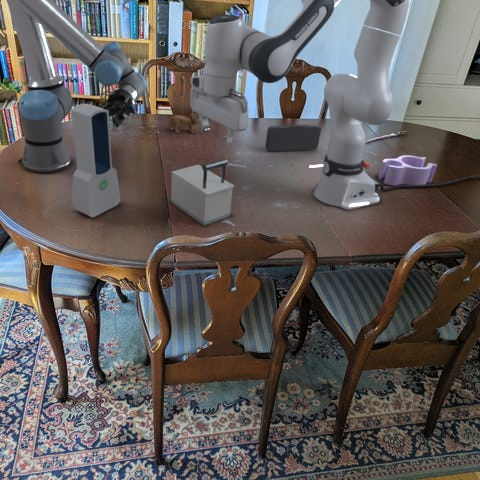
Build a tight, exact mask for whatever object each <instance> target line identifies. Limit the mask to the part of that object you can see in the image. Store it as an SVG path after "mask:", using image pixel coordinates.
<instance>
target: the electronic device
mask: <svg viewBox="0 0 480 480" xmlns="http://www.w3.org/2000/svg"><path fill="white" fill-rule="evenodd" d="M70 114H71V115H70V116H71V123H72V124H71V125H72V132H73V143H74V151H75V160H76V169H75V171H74V173H73V174H72V185H71V188H72V189H71V201H70V202H71V204H72V207H73V209H74V210H75V211H77V212H79V213H81V214H84V215H86V216H88V217H90V218H95V217H97V216H99V215H101V214H103V213H105V212H107V211H109V210H112V208H115V207H117V206H118V205H119V204H120V202H121V201H122V200H121V192H120V186H119V179H118V178H119V177H118V170H117V169H116V168H114V166H113V160H112V158H113V157H112V142H111V127H110V120H109V119H110V117H109V111H108V110H105V109H102V107H101V108H99V106H96V105H93V104H90V103H79V104H78V105H75V106H74V107H72V108H71V110H70Z"/></svg>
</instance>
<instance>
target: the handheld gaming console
mask: <svg viewBox="0 0 480 480" xmlns="http://www.w3.org/2000/svg"><path fill="white" fill-rule="evenodd" d="M321 133H322V127H321V126H319V125H318V124H292V125H291V124H290V125H289V124H286V125H285V124H284V125H283V124H281V125H270V126H268V127H267V130H266V139H265V145H264V146H265V150H267V151H268V152H289V151H290V152H292V151H294V152H295V151H312V150H317V148H318V147H319V144H320V137H321Z"/></svg>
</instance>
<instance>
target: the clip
mask: <svg viewBox="0 0 480 480" xmlns="http://www.w3.org/2000/svg"><path fill="white" fill-rule="evenodd" d="M426 159H427V158H426V157H425V156H421V157H420V156H416V155H408V154H407V155H400V156H398V157H397V158H385V159H382V163H381V167H380V170H379V173H378V176H377V177H378V178H377V179H378V180H383V178H384V180H383V184H384V185H389V186H397V185H427V183H430V184H432V180H433V177H434V175H435V172H436V169H437V166H438V165H437V164H436V163H432V162H428V163H427V164H426V166H424V165H425V162H426Z"/></svg>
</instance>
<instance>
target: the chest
mask: <svg viewBox="0 0 480 480" xmlns="http://www.w3.org/2000/svg"><path fill="white" fill-rule="evenodd" d="M170 184H171V189H170V190H171V191H170V192H171V193H170V203H171V204H172V205H174V206H175V207H177V208H178V209H180V210H181V211H182V212H184V213H186V214H187V215H188V216H189V217H191V218H193V219H194V220H195V221H197V222H198V223H199V224H201V225H202V226H206V225H209V224H212V223H215V222H217V221H221V220H223V219H225V218H229V217H230V216H231V209H232V200H233V199H232V198H233V189H234V188H232V189H229V190H226V191H223V192H220V193H217V194H213V195H210V196H205V195H204V194H202V193H201V192H199V191H197V190H196V189H194V188H193V187H191V186H190V185H188V184H187V183H185V182H183V181H182V180H180V179H179V178H177V177H176V176H174V175H173V174H172V173H171V183H170Z"/></svg>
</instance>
